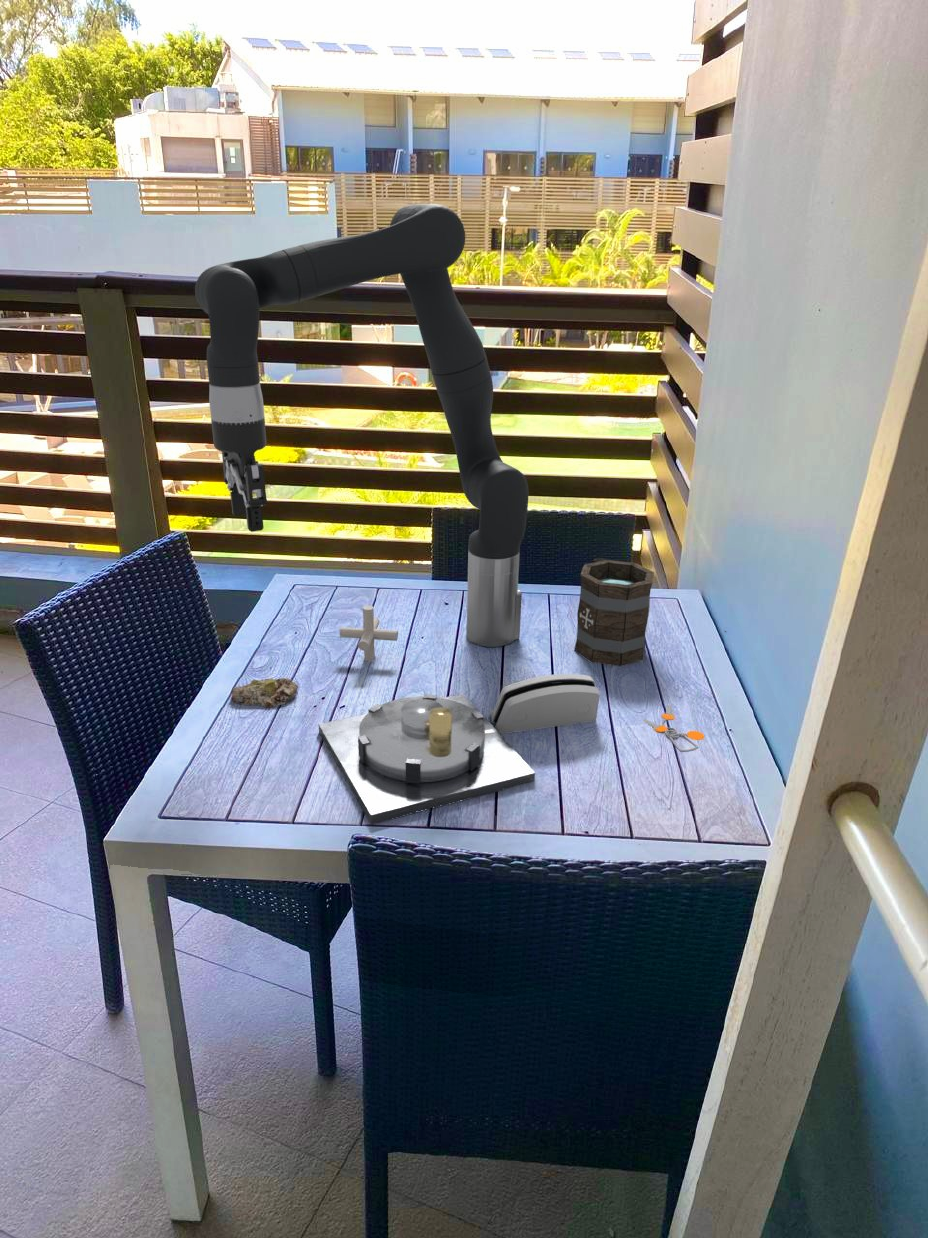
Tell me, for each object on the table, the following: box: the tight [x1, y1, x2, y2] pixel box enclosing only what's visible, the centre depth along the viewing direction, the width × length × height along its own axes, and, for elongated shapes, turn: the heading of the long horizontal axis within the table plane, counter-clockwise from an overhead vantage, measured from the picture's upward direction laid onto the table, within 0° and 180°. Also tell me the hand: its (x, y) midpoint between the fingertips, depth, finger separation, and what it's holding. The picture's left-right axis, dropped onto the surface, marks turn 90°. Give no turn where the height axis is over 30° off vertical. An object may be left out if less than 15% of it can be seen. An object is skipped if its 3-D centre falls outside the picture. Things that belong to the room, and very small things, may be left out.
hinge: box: [488, 673, 601, 735], centre depth 133 cm, size 17×5×10 cm, turn 106°
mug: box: [573, 557, 655, 667], centre depth 159 cm, size 20×14×15 cm
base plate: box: [318, 693, 536, 825], centre depth 125 cm, size 24×24×2 cm
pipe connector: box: [339, 605, 399, 662], centre depth 151 cm, size 10×10×10 cm
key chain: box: [642, 705, 705, 753], centre depth 134 cm, size 13×7×1 cm, turn 19°
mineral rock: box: [230, 677, 299, 708], centre depth 140 cm, size 11×4×8 cm
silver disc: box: [358, 693, 485, 784], centre depth 123 cm, size 18×19×9 cm
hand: (247, 522), depth 132 cm, fingers open, 8 cm apart
